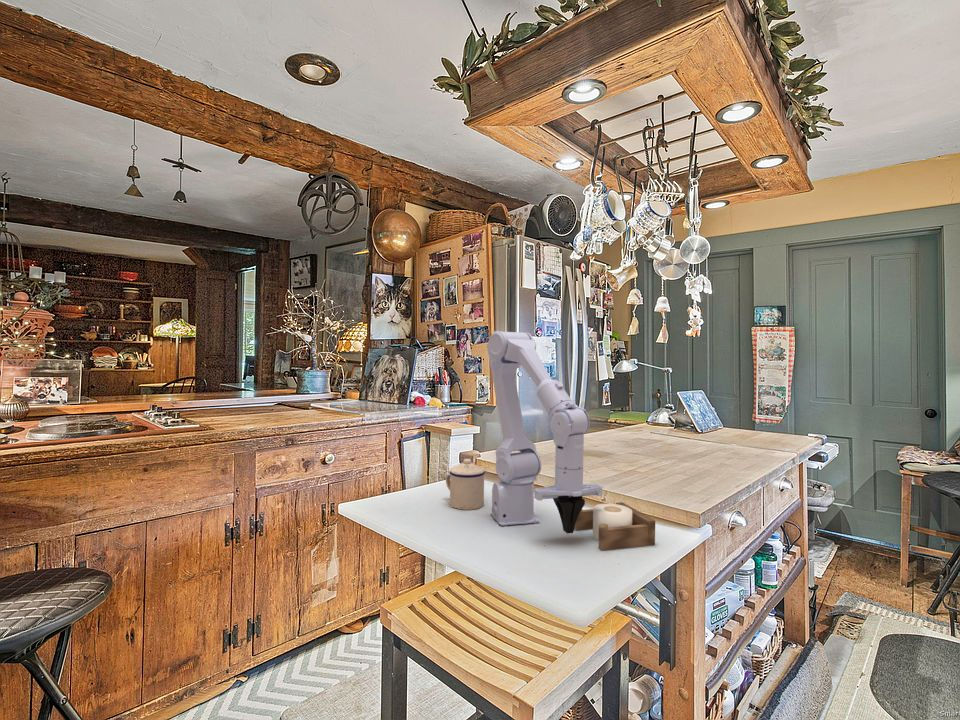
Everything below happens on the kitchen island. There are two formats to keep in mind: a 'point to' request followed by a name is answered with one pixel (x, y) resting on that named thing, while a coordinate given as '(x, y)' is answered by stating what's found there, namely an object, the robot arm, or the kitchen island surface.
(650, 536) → the holder
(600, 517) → the roll
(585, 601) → the kitchen island surface
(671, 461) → the kitchen island surface
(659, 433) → the kitchen island surface
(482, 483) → the teacup with lid
